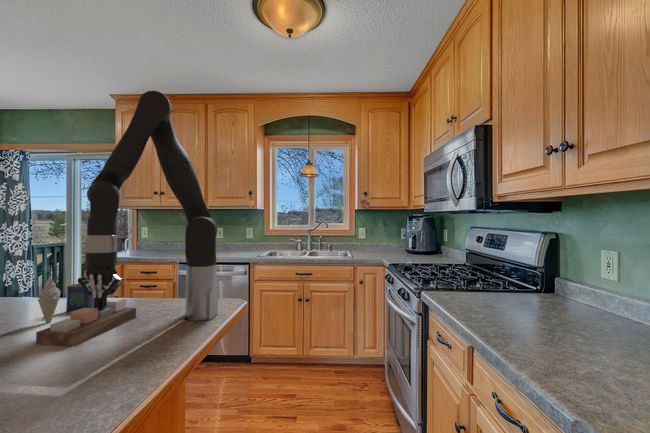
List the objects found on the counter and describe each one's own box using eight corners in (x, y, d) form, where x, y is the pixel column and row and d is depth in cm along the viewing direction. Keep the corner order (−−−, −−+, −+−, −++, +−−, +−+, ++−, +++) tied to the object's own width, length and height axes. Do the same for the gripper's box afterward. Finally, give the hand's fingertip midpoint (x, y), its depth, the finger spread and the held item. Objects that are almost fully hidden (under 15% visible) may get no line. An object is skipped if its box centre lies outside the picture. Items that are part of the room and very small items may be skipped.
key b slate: (112, 318, 92) (112, 308, 92) (101, 322, 88) (101, 312, 88) (99, 317, 92) (99, 307, 92) (87, 322, 88) (87, 311, 88)
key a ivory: (125, 308, 97) (126, 298, 97) (115, 311, 93) (116, 302, 93) (113, 307, 98) (113, 298, 98) (102, 311, 93) (103, 301, 94)
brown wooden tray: (137, 320, 98) (138, 307, 98) (74, 350, 75) (75, 334, 75) (105, 319, 99) (105, 306, 99) (33, 348, 76) (33, 332, 76)
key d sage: (80, 331, 81) (80, 319, 81) (65, 337, 77) (65, 325, 77) (65, 330, 81) (65, 319, 81) (50, 336, 77) (50, 324, 77)
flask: (96, 311, 107) (96, 280, 107) (89, 313, 104) (89, 281, 105) (70, 310, 108) (71, 279, 108) (63, 312, 105) (63, 281, 105)
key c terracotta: (97, 319, 86) (97, 308, 86) (84, 324, 82) (85, 312, 82) (83, 318, 87) (83, 307, 87) (70, 323, 82) (70, 312, 83)
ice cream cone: (63, 324, 94) (64, 274, 94) (43, 329, 89) (45, 277, 89) (52, 322, 95) (53, 273, 95) (32, 327, 90) (34, 276, 91)
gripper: (132, 249, 93) (130, 307, 93) (91, 248, 94) (89, 305, 94) (113, 252, 86) (111, 314, 86) (69, 251, 87) (67, 312, 87)
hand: (100, 309), depth 90 cm, fingers closed
